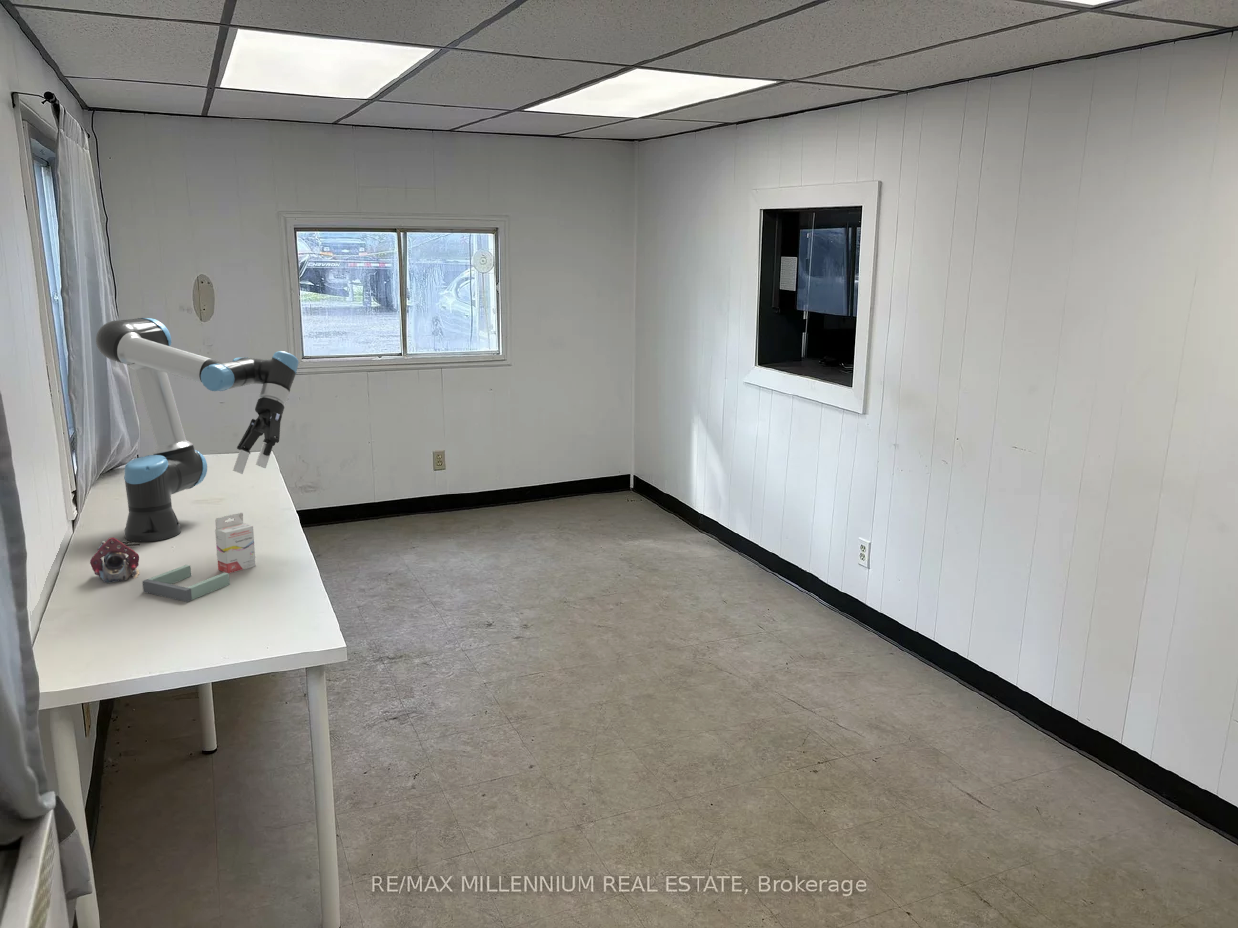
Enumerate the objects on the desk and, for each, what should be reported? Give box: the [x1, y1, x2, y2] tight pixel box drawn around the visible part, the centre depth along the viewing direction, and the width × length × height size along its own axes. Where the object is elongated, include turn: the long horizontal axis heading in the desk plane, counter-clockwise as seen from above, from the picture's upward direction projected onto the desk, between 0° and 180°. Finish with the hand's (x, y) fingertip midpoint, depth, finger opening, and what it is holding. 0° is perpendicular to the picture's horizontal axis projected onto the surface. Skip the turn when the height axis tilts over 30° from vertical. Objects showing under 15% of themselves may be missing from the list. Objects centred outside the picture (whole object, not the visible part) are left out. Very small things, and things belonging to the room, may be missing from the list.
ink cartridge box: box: [214, 512, 256, 574], centre depth 246 cm, size 9×5×15 cm, turn 144°
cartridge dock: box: [142, 564, 230, 603], centre depth 232 cm, size 15×14×3 cm
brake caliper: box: [89, 537, 140, 584], centre depth 239 cm, size 11×11×12 cm
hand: (249, 469), depth 255 cm, fingers open, 13 cm apart
